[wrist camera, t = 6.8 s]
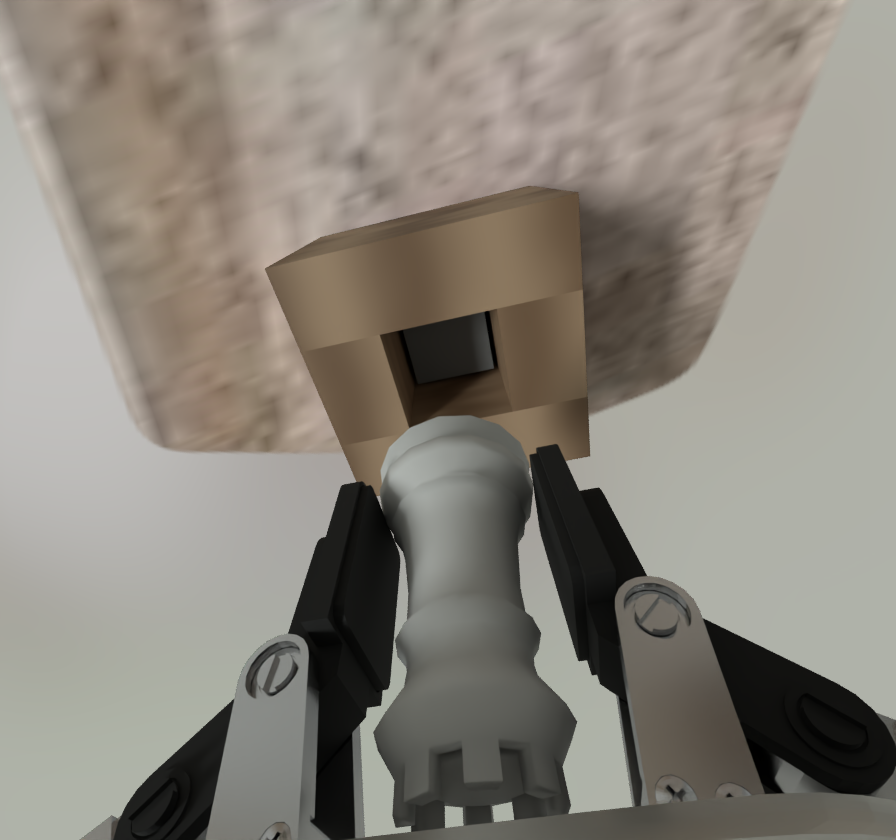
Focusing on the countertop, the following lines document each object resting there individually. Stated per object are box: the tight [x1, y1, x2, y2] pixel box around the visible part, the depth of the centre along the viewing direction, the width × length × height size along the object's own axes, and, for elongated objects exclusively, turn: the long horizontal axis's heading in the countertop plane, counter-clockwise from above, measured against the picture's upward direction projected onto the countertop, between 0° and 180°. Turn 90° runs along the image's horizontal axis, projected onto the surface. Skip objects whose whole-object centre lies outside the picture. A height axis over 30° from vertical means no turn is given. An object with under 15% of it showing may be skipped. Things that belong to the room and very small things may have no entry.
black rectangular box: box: [403, 312, 494, 384], centre depth 23 cm, size 4×4×1 cm
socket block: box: [265, 186, 590, 496], centre depth 22 cm, size 12×12×9 cm
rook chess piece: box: [374, 415, 577, 832], centre depth 9 cm, size 4×4×8 cm
